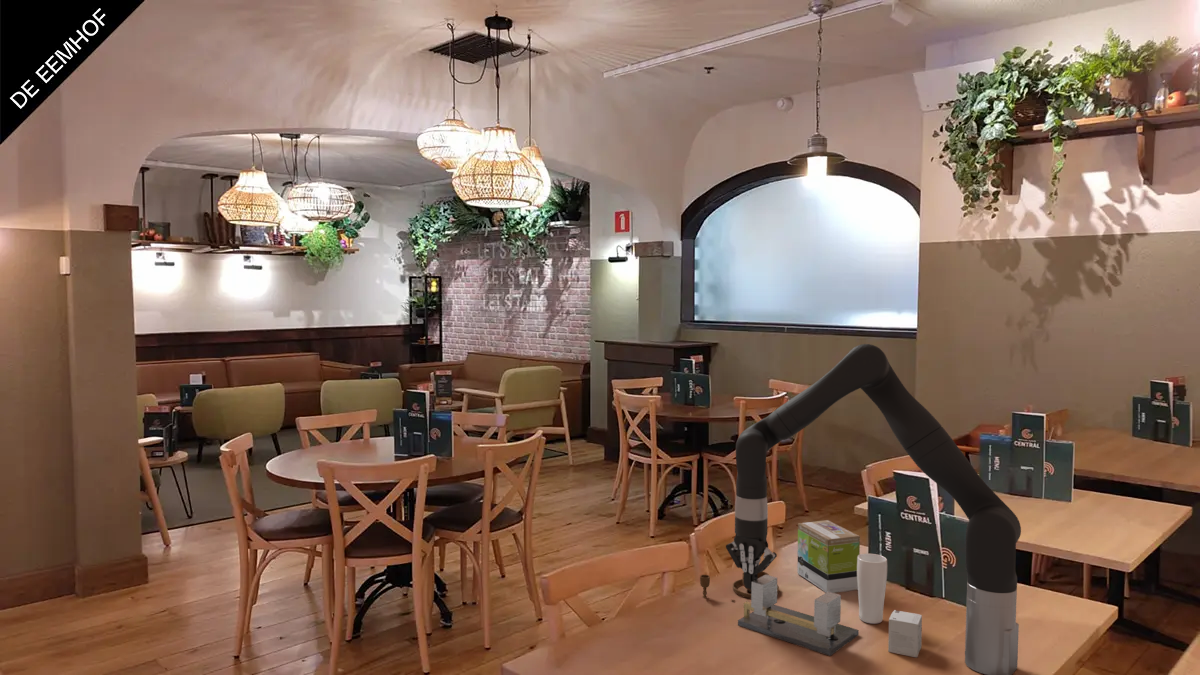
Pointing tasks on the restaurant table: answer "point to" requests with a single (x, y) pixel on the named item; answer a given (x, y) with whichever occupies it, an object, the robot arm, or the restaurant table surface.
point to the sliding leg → (763, 594)
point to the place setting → (706, 581)
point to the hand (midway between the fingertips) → (750, 587)
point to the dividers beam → (824, 614)
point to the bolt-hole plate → (799, 631)
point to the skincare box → (905, 633)
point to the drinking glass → (871, 586)
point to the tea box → (828, 556)
